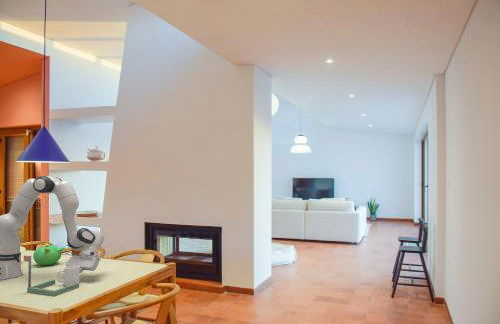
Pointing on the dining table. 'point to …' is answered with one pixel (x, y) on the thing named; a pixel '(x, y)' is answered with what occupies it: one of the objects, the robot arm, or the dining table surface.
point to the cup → (70, 275)
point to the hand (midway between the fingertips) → (75, 275)
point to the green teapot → (47, 254)
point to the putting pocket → (46, 284)
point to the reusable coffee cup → (77, 250)
